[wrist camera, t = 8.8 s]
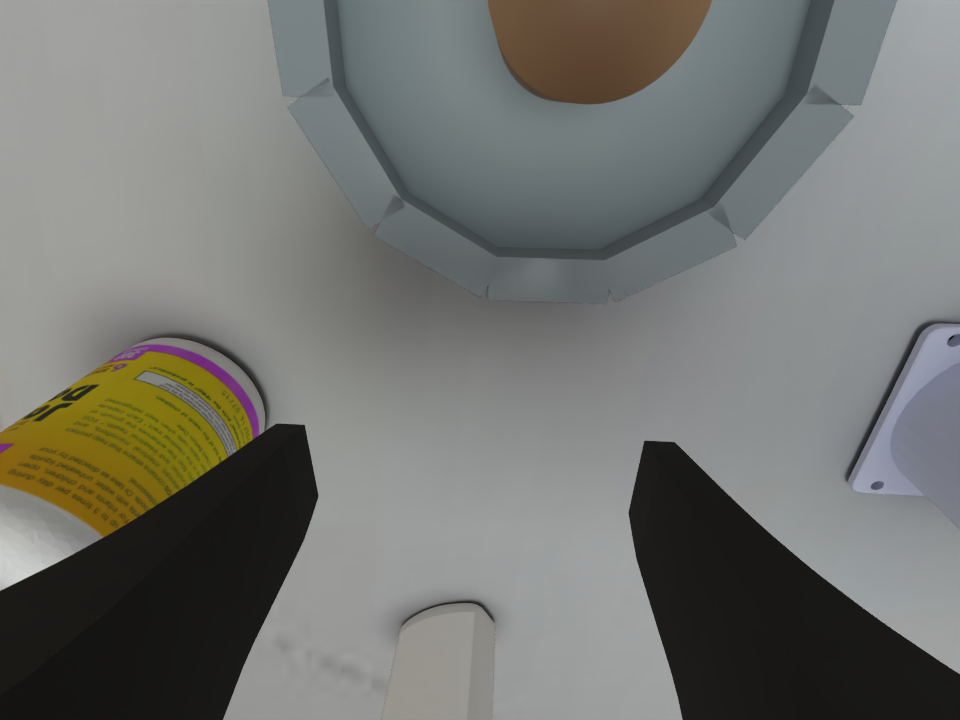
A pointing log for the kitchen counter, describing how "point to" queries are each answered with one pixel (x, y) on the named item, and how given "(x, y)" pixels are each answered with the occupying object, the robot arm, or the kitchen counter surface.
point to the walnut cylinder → (593, 44)
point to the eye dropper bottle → (443, 666)
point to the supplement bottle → (117, 448)
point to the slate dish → (568, 138)
